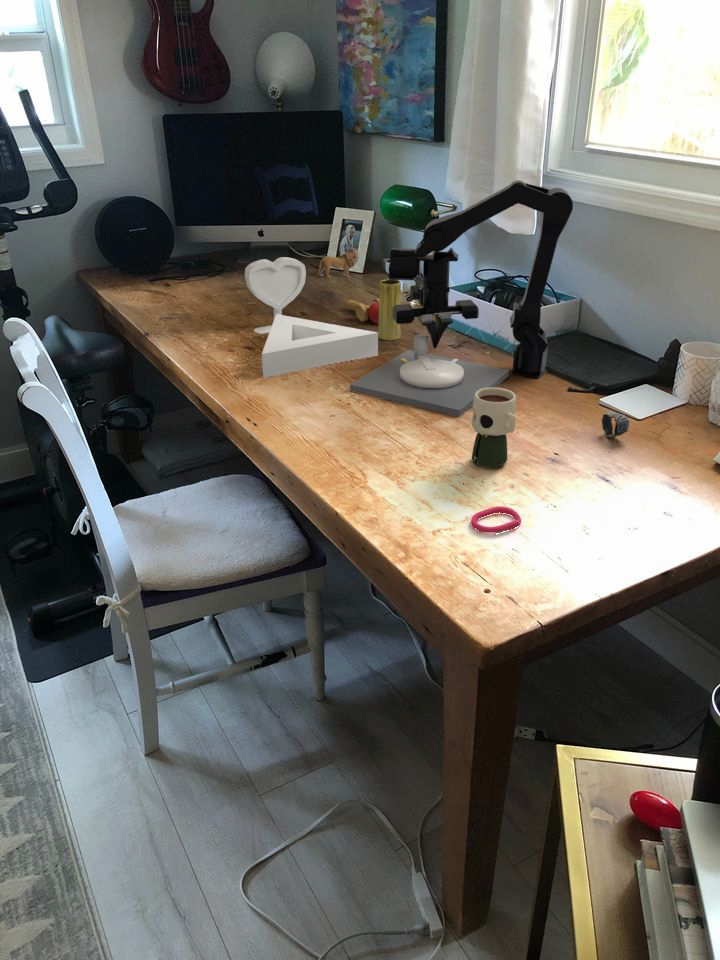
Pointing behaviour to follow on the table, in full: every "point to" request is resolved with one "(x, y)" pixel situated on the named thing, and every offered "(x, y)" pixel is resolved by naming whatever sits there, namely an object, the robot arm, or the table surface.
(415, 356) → the dial
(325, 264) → the lion figurine
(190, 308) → the table surface
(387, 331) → the vase
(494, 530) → the fitness band
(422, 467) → the table surface
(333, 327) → the triangle block
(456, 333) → the table surface
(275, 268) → the heart sculpture
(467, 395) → the dial plate
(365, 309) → the kendama
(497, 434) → the character mug
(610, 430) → the wristwatch
